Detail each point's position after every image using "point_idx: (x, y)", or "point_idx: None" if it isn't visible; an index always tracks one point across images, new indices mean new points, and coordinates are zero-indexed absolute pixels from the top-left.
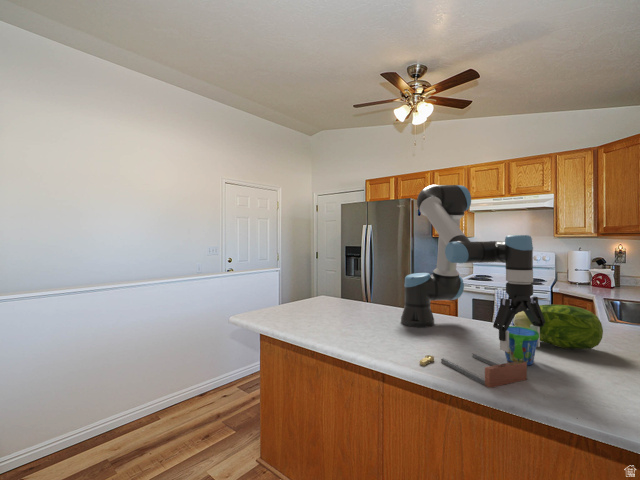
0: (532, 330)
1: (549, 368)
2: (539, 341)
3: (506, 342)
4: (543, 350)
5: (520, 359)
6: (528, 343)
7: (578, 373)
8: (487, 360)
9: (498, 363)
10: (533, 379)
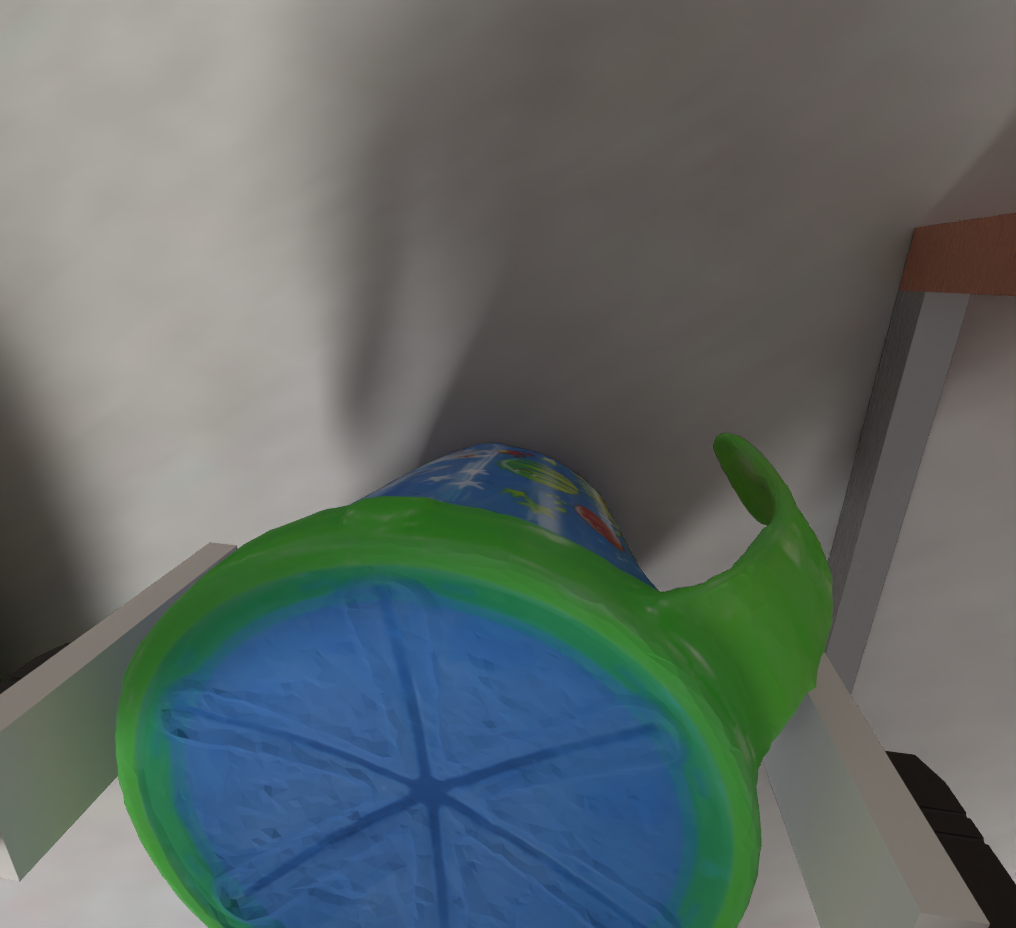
0: (150, 739)
1: (391, 320)
2: (168, 577)
3: (849, 713)
4: (67, 598)
5: (602, 505)
6: (551, 529)
7: (232, 106)
8: (855, 668)
9: (857, 571)
10: (839, 200)
